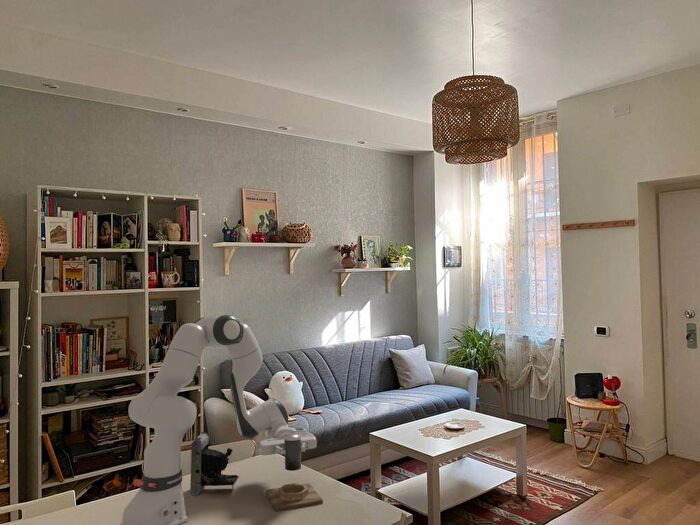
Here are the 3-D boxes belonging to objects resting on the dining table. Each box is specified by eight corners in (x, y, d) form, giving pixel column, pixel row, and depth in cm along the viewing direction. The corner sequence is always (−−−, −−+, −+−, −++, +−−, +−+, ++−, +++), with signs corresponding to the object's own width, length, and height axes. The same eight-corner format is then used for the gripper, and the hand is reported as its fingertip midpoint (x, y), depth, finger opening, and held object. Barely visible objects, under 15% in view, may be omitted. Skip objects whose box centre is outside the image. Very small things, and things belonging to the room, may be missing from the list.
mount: (322, 503, 180) (322, 493, 180) (276, 511, 174) (275, 501, 174) (309, 486, 195) (308, 477, 195) (265, 493, 189) (265, 484, 189)
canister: (296, 471, 181) (295, 438, 181) (281, 469, 183) (280, 437, 184) (304, 465, 186) (303, 434, 187) (290, 464, 189) (289, 432, 189)
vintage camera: (232, 497, 188) (234, 439, 189) (189, 495, 188) (191, 438, 189) (239, 486, 197) (240, 432, 198) (197, 485, 198) (199, 431, 199)
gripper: (255, 434, 193) (263, 445, 180) (309, 428, 201) (321, 438, 188) (255, 452, 193) (263, 464, 180) (309, 444, 201) (321, 456, 188)
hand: (293, 451), depth 184 cm, fingers closed on canister, 6 cm apart
